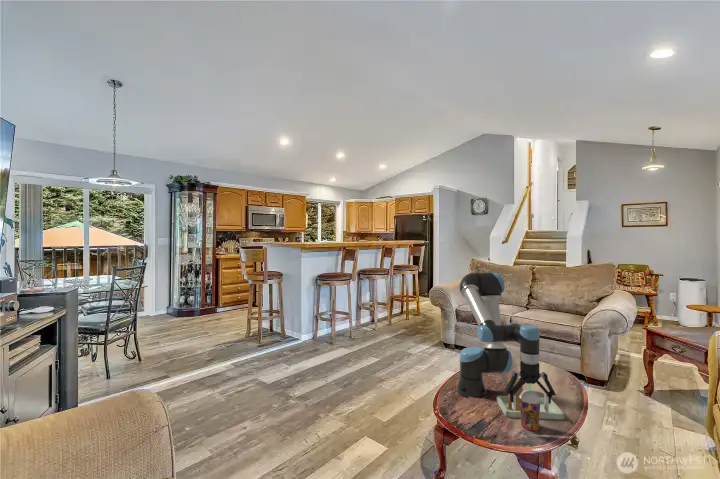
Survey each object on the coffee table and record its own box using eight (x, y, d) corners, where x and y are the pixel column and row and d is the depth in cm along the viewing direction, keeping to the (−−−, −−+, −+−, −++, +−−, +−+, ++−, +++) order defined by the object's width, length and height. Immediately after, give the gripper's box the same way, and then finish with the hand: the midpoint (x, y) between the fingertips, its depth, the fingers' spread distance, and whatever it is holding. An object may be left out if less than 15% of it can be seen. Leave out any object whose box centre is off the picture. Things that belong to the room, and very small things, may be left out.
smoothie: (531, 436, 142) (531, 389, 142) (515, 426, 150) (515, 382, 150) (545, 431, 146) (545, 386, 145) (528, 422, 153) (528, 378, 153)
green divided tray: (506, 419, 156) (506, 411, 156) (496, 402, 171) (496, 395, 171) (564, 421, 153) (564, 414, 153) (549, 404, 169) (549, 397, 168)
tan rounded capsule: (510, 412, 160) (510, 383, 160) (506, 405, 167) (506, 377, 166) (524, 412, 159) (524, 383, 159) (520, 405, 166) (519, 377, 166)
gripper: (502, 364, 145) (503, 413, 145) (564, 365, 142) (564, 415, 143) (497, 357, 153) (497, 404, 153) (555, 359, 150) (556, 406, 150)
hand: (530, 409), depth 148 cm, fingers open, 13 cm apart
